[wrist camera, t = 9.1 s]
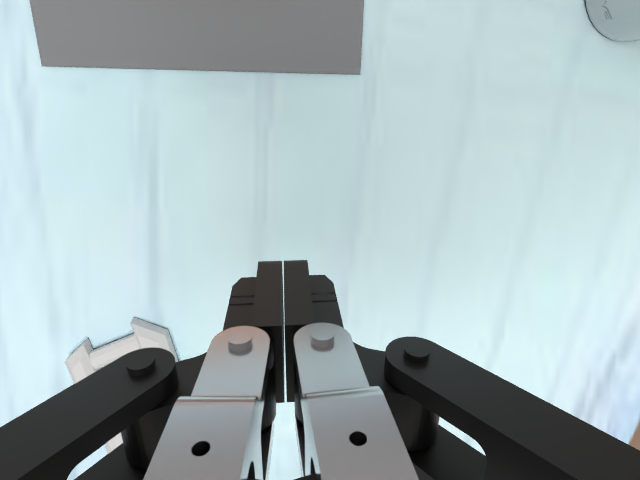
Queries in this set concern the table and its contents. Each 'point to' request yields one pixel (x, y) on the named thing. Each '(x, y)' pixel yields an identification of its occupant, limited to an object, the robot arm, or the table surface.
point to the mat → (202, 34)
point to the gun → (117, 355)
